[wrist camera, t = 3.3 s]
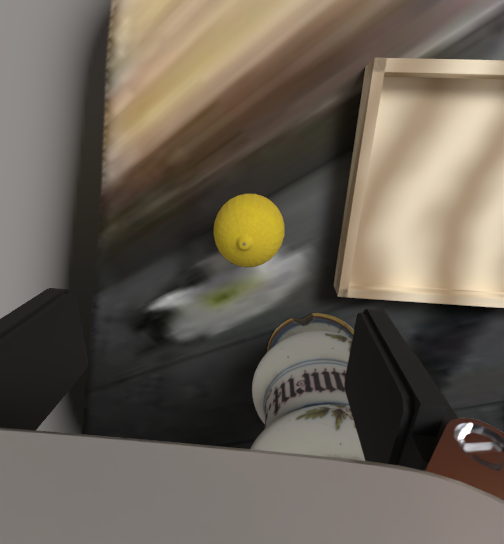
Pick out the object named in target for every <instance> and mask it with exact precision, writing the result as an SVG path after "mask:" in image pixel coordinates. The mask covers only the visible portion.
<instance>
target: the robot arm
mask: <svg viewBox="0 0 504 544" xmlns="http://www.w3.org/2000/svg"><path fill="white" fill-rule="evenodd" d="M87 365H88V357H87V352H86V347H85V341H84V337H83V331H82V326H81V320H80V316H79V310H78V305H77V300H76V297H75V295H74V294H72V293H71V292H70V290H68V289H55V288H49V289H47V290H45V291H43V292H42V293H40V294H39V295H37V296H36V297H34V298H32V299H31V300H29V301H28V302H26V303H25V304H23V305H22V306H20V307H18V308H17V309H15V310H14V311H12V312H11V313H9V314H8V315H6V316H4V317H3V318H1V319H0V544H504V433H503V432H501V431H500V430H498V429H496V428H495V427H493V426H491V425H489V424H486V423H484V422H482V421H479V420H475V419H471V418H458V417H457V415H456V414H455V412H454V411H453V409H452V408H451V406H450V405H449V403H448V402H447V400H446V399H445V398H444V396H443V395H442V393H441V392H440V390H439V389H438V387H437V386H436V384H435V383H434V381H433V380H432V378H431V377H430V375H429V374H428V372H427V371H426V369H425V368H424V366H423V365H422V363H421V362H420V360H419V359H418V357H417V356H416V355H415V354H413V353H412V351H411V350H410V348H409V347H408V345H407V344H406V342H405V341H404V339H403V338H402V336H401V335H400V333H399V332H398V330H397V329H396V327H395V326H394V324H393V323H392V321H391V320H390V318H389V317H388V315H387V314H386V312H385V311H384V310H372V309H365V310H364V312H363V313H358V315H357V318H356V323H355V329H354V334H353V339H352V344H351V349H350V355H349V360H348V365H347V370H346V375H345V383H344V385H345V392H346V396H347V399H348V403H349V406H350V409H351V413H352V416H353V420H354V423H355V427H356V430H357V434H358V437H359V441H360V444H361V448H362V451H363V454H364V458H365V461H361V460H354V459H346V458H336V457H325V456H315V455H305V454H296V453H285V452H274V451H264V450H253V449H242V448H231V447H220V446H210V445H199V444H188V443H176V442H165V441H154V440H142V439H131V438H119V437H107V436H96V435H84V434H72V433H60V432H46V431H36V429H37V428H38V427H39V426H40V424H41V423H42V422H43V421H44V420H45V419H46V417H47V416H48V415H49V414H50V413H51V411H52V410H53V409H54V408H55V407H56V405H57V404H58V403H59V402H60V400H61V399H62V398H63V397H64V396H65V394H66V393H67V392H68V391H69V390H70V388H71V387H72V386H73V385H74V384H75V382H76V381H77V380H78V379H79V378H80V376H81V375H82V374H83V373H84V371H85V370H86V368H87Z"/></svg>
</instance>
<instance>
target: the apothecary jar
mask: <svg viewBox="0 0 504 544" xmlns="http://www.w3.org/2000/svg"><path fill="white" fill-rule="evenodd" d="M353 334H354V330H353V329H352V328H351V327H350V326H349V325H348V324H347V323H345V322H344V321H342V320H340V319H338V318H336V317H334V316H331V315H327V314H320V313H311V314H310V315H308V316H306V317H304V318H302V319H295V318H291V319H289V320H287V321H285V322H284V323H283V324H281V325H280V326H279V327H278V328H277V329H276V330H275V331H274V333H273V334H272V336H271V338H270V340H269V343H268V348H267V353H266V354H265V356H264V357H263V358H262V360H261V361H260V363H259V365H258V366H257V369H256V371H255V374H254V377H253V382H252V396H253V402H254V405H255V408H256V411H257V413H258V415H259V417H260V418H261V420H262V421H263V423H264V424H265V429H264V430H263V431H262V432H261V434H260V435H259V436H258V437H257V439H256V440H255V442H254V443H253V445H252V447H251V449H253V450H264V451H274V452H285V453H296V454H305V455H315V456H325V457H336V458H346V459H354V460H361V461H365V458H364V454H363V451H362V448H361V444H360V441H359V437H358V434H357V430H356V427H355V423H354V420H353V416H352V413H351V409H350V406H349V403H348V399H347V396H346V392H345V385H344V383H345V375H346V370H347V365H348V360H349V355H350V349H351V344H352V339H353Z"/></svg>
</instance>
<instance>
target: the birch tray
mask: <svg viewBox="0 0 504 544" xmlns="http://www.w3.org/2000/svg"><path fill="white" fill-rule="evenodd" d="M334 288H335V290H336V293H337V296H338V297H349V298H364V299H379V300H393V301H408V302H423V303H437V304H452V305H467V306H482V307H496V308H504V61H498V60H452V59H407V58H374V59H373V60H372V61H371V62H370V63H369V64H368V65H367V66H366V67H365V73H364V80H363V87H362V94H361V101H360V108H359V114H358V121H357V128H356V135H355V142H354V148H353V155H352V162H351V169H350V176H349V183H348V189H347V196H346V203H345V210H344V217H343V224H342V230H341V237H340V244H339V251H338V258H337V265H336V271H335V278H334Z"/></svg>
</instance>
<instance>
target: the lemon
mask: <svg viewBox="0 0 504 544" xmlns="http://www.w3.org/2000/svg"><path fill="white" fill-rule="evenodd" d="M214 238H215V243H216V245H217V247H218V250H219V252H220V253H221V254H222V255H223V256H224V258H226V259H227V260H228V261H230V262H231V263H233V264H235V265H238V266H242V267H255V266H258V265H262V264H264V263H265V262H267V261H269V260H270V259H271V258H272V257H273V256H274V255H275V254H276V253H277V251H278V250H279V248H280V246H281V244H282V241H283V238H284V222H283V218H282V215H281V213H280V211H279V210H278V208H277V207H276V206H275V205H274V204H273V202H272V201H270V200H268V199H267V198H265V197H263V196H260V195H257V194H243V195H239V196H236V197H234V198H232V199H230V200H229V201H228V202H227V203H226V204H225V205H223V206H222V208H221V209H220V211H219V213H218V214H217V217H216V220H215V223H214Z"/></svg>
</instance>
